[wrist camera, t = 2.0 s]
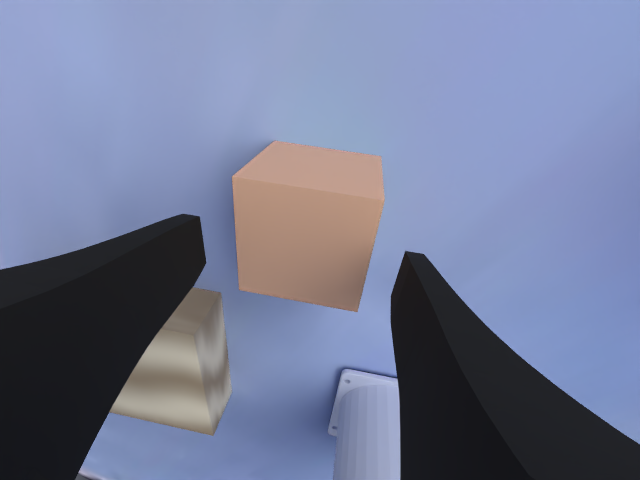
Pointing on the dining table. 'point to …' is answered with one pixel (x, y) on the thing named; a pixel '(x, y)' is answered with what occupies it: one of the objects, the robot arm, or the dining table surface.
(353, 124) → the dining table surface
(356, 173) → the terracotta cube
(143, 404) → the birch base block
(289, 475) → the dining table surface
